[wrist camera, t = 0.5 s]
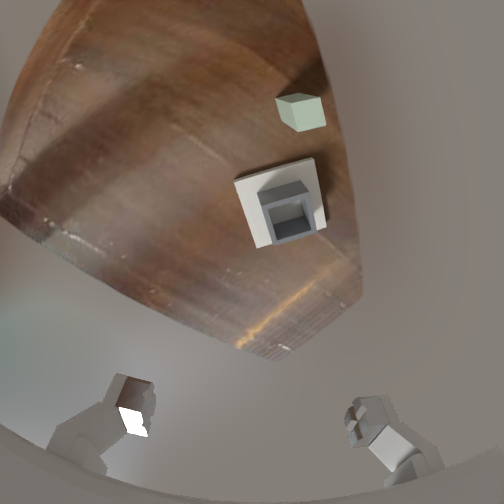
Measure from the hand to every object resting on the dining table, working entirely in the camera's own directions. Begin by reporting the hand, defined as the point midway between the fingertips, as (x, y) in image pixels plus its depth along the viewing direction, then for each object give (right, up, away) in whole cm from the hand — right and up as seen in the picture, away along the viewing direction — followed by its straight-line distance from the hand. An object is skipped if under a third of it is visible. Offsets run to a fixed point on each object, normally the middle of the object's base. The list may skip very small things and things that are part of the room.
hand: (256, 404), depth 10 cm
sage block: (+7, +33, +37) cm, 49 cm away
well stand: (+6, +16, +48) cm, 51 cm away
